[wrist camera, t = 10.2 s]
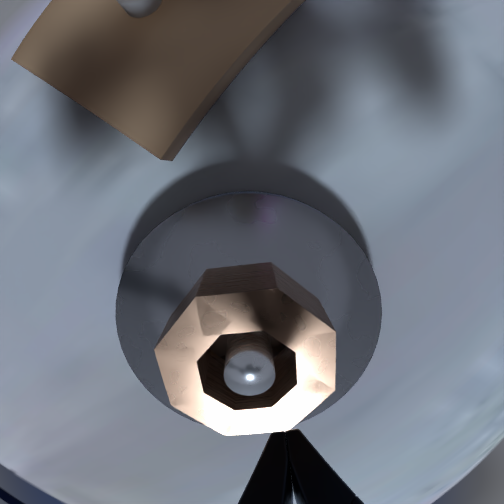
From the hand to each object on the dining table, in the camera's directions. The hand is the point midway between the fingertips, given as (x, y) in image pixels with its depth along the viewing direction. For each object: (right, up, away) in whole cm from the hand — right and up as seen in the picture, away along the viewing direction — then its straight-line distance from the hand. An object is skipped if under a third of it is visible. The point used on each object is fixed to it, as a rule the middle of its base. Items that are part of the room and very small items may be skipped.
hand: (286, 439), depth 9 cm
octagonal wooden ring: (-1, +2, +5) cm, 6 cm away
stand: (-5, +16, +3) cm, 18 cm away
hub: (-1, +2, +7) cm, 7 cm away
